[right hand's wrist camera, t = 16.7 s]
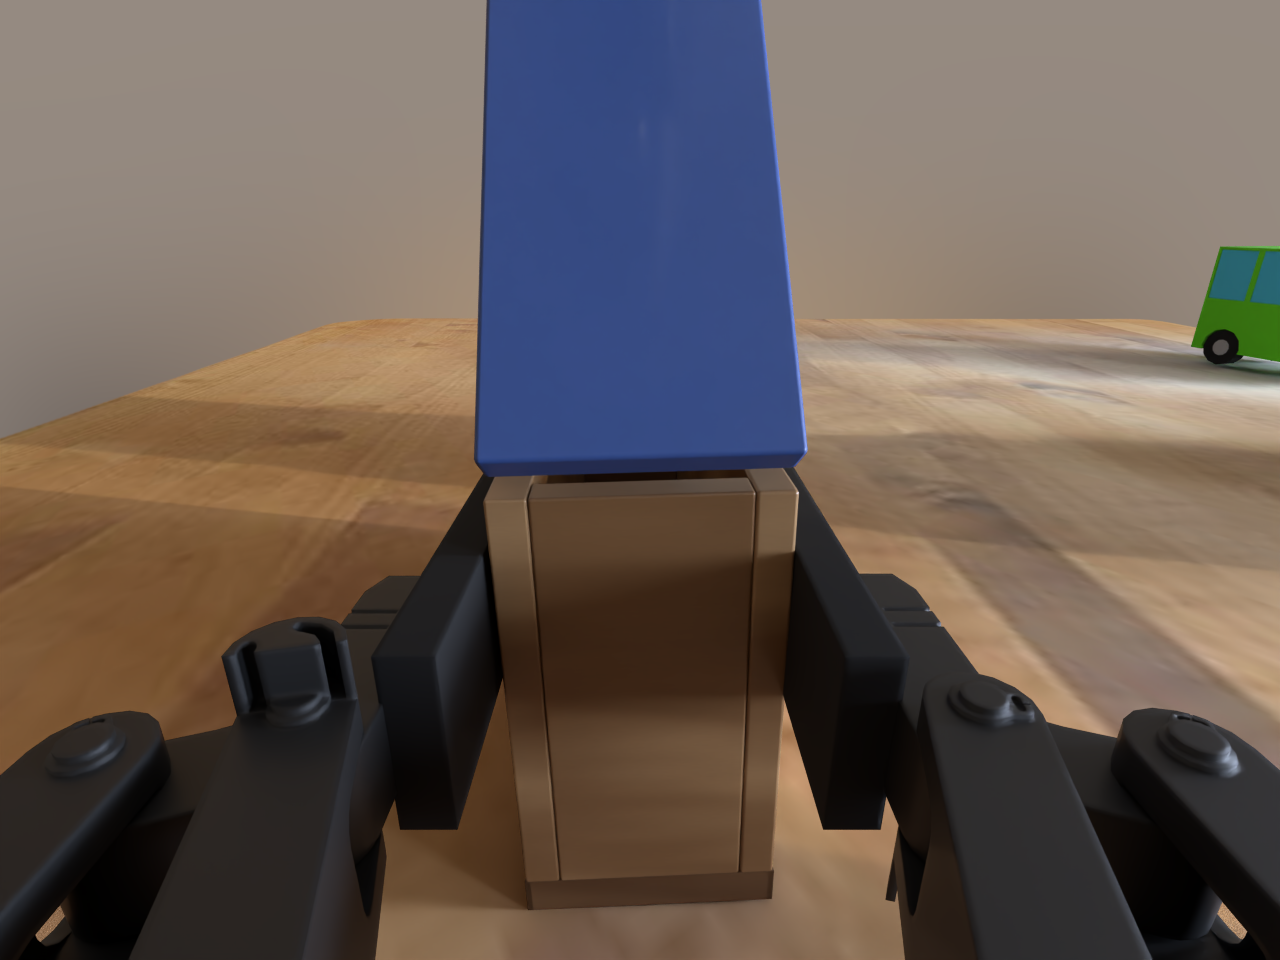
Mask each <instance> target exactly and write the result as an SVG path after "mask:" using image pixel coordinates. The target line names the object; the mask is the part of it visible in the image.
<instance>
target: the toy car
mask: <svg viewBox="0 0 1280 960" xmlns="http://www.w3.org/2000/svg"><path fill="white" fill-rule="evenodd" d="M1191 347H1196V348H1204V351H1203V353H1204V355H1205V357H1206V358H1207V360H1208V361H1210V362H1212V363H1214V364H1227V363H1234V362H1236V361H1238V360H1239V359H1241V358H1242V357H1243V356H1249V357H1254V358H1260V359H1266V360H1271V361H1278V362H1280V246H1236V247H1220V249H1219V253H1218V256H1217V260H1216V263H1215V266H1214V270H1213V274H1212V277H1211V280H1210V284H1209V287H1208V290H1207V294H1206V297H1205V301H1204V304H1203V307H1202V311H1201V314H1200V318H1199V321H1198V324H1197V328H1196V331H1195V335H1194V338H1193V342H1192V345H1191Z"/></svg>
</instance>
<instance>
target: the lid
mask: <svg viewBox="0 0 1280 960" xmlns="http://www.w3.org/2000/svg"><path fill="white" fill-rule="evenodd" d="M807 450H808V448H807V439H806V429H805V420H804V410H803V400H802V391H801V381H800V371H799V362H798V352H797V342H796V333H795V323H794V314H793V304H792V294H791V285H790V275H789V266H788V256H787V247H786V237H785V227H784V217H783V208H782V198H781V188H780V179H779V170H778V159H777V150H776V140H775V131H774V121H773V112H772V102H771V92H770V82H769V73H768V63H767V54H766V44H765V35H764V25H763V15H762V6H761V0H487V9H486V45H485V83H484V118H483V155H482V190H481V226H480V262H479V299H478V335H477V371H476V407H475V443H474V460H475V463H476V464H477V466H478V467H479V468H480V469H481V471H482V472H483V473H484V475H485V476H488V477H504V476H537V475H570V474H603V473H635V472H668V471H701V470H734V469H767V468H792V467H794V466H796V465H797V464H798V462H799V461H800V460H801V459H802V458H803V457H804V455H805V454H806V453H807Z"/></svg>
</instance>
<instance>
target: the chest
mask: <svg viewBox="0 0 1280 960" xmlns="http://www.w3.org/2000/svg"><path fill="white" fill-rule="evenodd" d="M798 499H799V492H798V490H797V488H796V487H795V485H794V484H793V482H792V481H791V479H790V478H789V476H788V475H787V473H786V472H785V470H784V469H783V468H767V469H734V470H701V471H668V472H635V473H603V474H570V475H537V476H504V477H495V478H494V480H493V482H492V484H491V486H490V488H489V491H488V493H487V495H486V497H485V499H484V502H483V505H484V514H485V522H486V531H487V540H488V549H489V558H490V567H491V576H492V585H493V593H494V602H495V611H496V620H497V629H498V638H499V647H500V656H501V665H502V673H503V682H504V691H505V700H506V709H507V718H508V727H509V736H510V744H511V753H512V762H513V771H514V780H515V789H516V798H517V807H518V815H519V824H520V833H521V842H522V851H523V860H524V869H525V887H526V896H527V905H528V910H537V909H558V908H580V907H602V906H623V905H645V904H667V903H688V902H710V901H732V900H753V899H772V889H773V875H774V870H773V854H774V840H775V826H776V811H777V797H778V783H779V769H780V755H781V740H782V726H783V712H784V696H783V688H784V677H785V666H786V655H787V644H788V633H789V622H790V609H791V596H792V583H793V570H794V556H795V542H796V527H797V513H798Z"/></svg>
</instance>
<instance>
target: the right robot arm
mask: <svg viewBox="0 0 1280 960" xmlns="http://www.w3.org/2000/svg"><path fill="white" fill-rule="evenodd" d="M783 469H784V470H785V472H786V473H787V475H788V476H789V478H790V479H791V481H792V482H793V484H794V485H795V487H796V488H797V490H798V492H799V499H798V513H797V527H796V542H795V556H794V570H793V583H792V596H791V609H790V622H789V633H788V644H787V655H786V666H785V677H784V688H783V696H784V700H785V703H786V707H787V710H788V713H789V717H790V720H791V723H792V727H793V730H794V733H795V737H796V740H797V743H798V747H799V750H800V753H801V757H802V760H803V763H804V767H805V770H806V773H807V777H808V780H809V783H810V787H811V790H812V793H813V797H814V800H815V804H816V807H817V810H818V814H819V817H820V820H821V824H822V827H823V830H881V824H882V818H883V812H884V806H885V800H886V797H887V799H888V801H889V804H890V806H891V808H892V811H893V813H894V815H895V818H896V820H897V823H898V825H899V826H898V831H897V837H896V842H895V848H894V853H893V859H892V864H891V870H890V875H889V881H888V887H887V894H886V900H889V901H894V902H895V898H896V893H897V891H898V900H899V909H900V918H901V927H902V936H903V945H904V954H905V960H1280V770H1279V769H1278V768H1277V767H1276V766H1274V765H1273V764H1272V763H1271V762H1270V761H1269V760H1267V759H1266V758H1265V757H1264V756H1263V755H1262V754H1261V753H1259V752H1258V751H1257V750H1256V749H1255V748H1253V747H1252V746H1250V745H1249V744H1248V743H1246V742H1245V741H1243V740H1242V739H1240V738H1239V737H1238V736H1236V735H1235V734H1233V733H1232V732H1230V731H1228V730H1226V729H1223V728H1221V727H1219V726H1217V725H1215V724H1213V723H1211V722H1210V721H1208V720H1206V719H1203V718H1200V717H1197V716H1194V715H1193V716H1192V715H1190V714H1188V713H1183V712H1179V711H1174V710H1165V709H1157V708H1148V709H1142V710H1135V711H1133V712H1131V713H1130V714H1129V715H1128V716H1126V717H1125V718H1124V719H1123V722H1122V725H1121V728H1120V731H1119V734H1118V737H1117V738H1114V737H1110V736H1105V735H1100V734H1095V733H1091V732H1086V731H1081V730H1076V729H1072V728H1067V727H1063V726H1059V725H1055V724H1052V723H1048V722H1046V720H1045V718H1044V716H1043V714H1042V713H1041V711H1040V710H1039V709H1038V707H1037V706H1036V705H1035V703H1034V702H1033V701H1032V700H1031V699H1030V698H1028V697H1027V696H1026V695H1024V694H1023V693H1022V692H1020V691H1019V690H1018V689H1016V688H1015V687H1013V686H1011V685H1008V684H1006V683H1004V682H1002V681H1000V680H997V679H995V678H993V677H989V676H985V675H980V674H978V672H977V671H976V670H975V668H974V667H973V665H972V664H971V663H970V661H969V660H968V659H967V657H966V656H965V655H964V653H963V652H962V651H961V649H960V648H959V647H958V645H957V644H956V643H955V641H954V640H953V639H952V637H951V636H950V635H949V633H948V632H947V631H946V629H945V628H944V627H941V622H940V621H939V620H938V618H937V617H936V616H935V614H934V613H933V612H932V611H930V610H929V606H928V605H927V604H926V602H925V601H924V600H923V598H922V597H921V596H920V594H919V593H918V591H917V590H916V589H915V588H913V587H911V586H910V585H908V584H907V583H905V582H904V581H902V580H901V579H899V578H898V577H896V576H895V575H893V574H859V573H858V571H857V570H856V568H855V567H854V565H853V563H852V562H851V560H850V558H849V557H848V555H847V554H846V552H845V550H844V549H843V547H842V545H841V544H840V542H839V541H838V539H837V537H836V536H835V534H834V532H833V531H832V529H831V528H830V526H829V524H828V523H827V521H826V519H825V518H824V516H823V515H822V513H821V511H820V510H819V508H818V506H817V505H816V503H815V502H814V500H813V498H812V497H811V495H810V493H809V492H808V490H807V489H806V487H805V485H804V484H803V482H802V480H801V479H800V477H799V476H798V474H797V472H796V471H795V469H794V467H792V468H783ZM494 478H495V477H488V476H485V475H484V473H483V475H482V477H481V478H480V480H479V482H478V483H477V485H476V486H475V488H474V490H473V491H472V493H471V495H470V496H469V498H468V499H467V501H466V503H465V504H464V506H463V508H462V509H461V511H460V512H459V514H458V516H457V517H456V519H455V521H454V522H453V524H452V525H451V527H450V529H449V530H448V532H447V534H446V535H445V537H444V538H443V540H442V542H441V543H440V545H439V547H438V548H437V550H436V551H435V553H434V555H433V556H432V558H431V560H430V561H429V563H428V565H427V566H426V568H425V569H424V571H423V573H422V574H421V576H388V577H387V578H385V579H384V580H382V581H380V582H379V583H377V584H376V585H374V586H373V587H371V588H370V589H368V590H367V591H365V592H364V594H363V595H362V597H361V598H360V599H359V601H358V602H357V603H356V605H355V606H354V607H353V609H352V613H351V614H348V616H347V617H346V618H345V620H344V621H343V622H342V624H341V625H340V624H339V623H338V622H336V621H335V620H330V619H326V618H322V617H297V618H293V619H288V620H283V621H278V622H274V623H271V624H269V625H266V626H264V627H261V628H259V629H256V630H254V631H251V632H250V633H248V634H247V635H245V636H243V637H242V638H240V639H239V640H237V641H236V642H234V643H233V644H232V645H231V646H230V647H229V648H228V650H227V651H226V652H225V653H224V654H223V655H222V656H221V657H222V661H223V664H224V668H225V672H226V676H227V679H228V683H229V687H230V691H231V695H232V698H233V702H234V706H235V710H236V713H237V717H236V719H235V722H234V724H233V725H232V726H229V727H225V728H221V729H218V730H213V731H209V732H204V733H199V734H194V735H190V736H185V737H180V738H175V739H171V740H166V741H164V737H163V734H162V731H161V728H160V725H159V722H158V721H157V720H156V719H154V718H153V717H152V716H151V715H149V714H148V713H141V712H134V711H124V712H116V713H108V714H103V715H99V716H94V717H93V718H90V719H89V718H87V719H85V720H82V721H79V722H76V723H74V724H72V725H71V726H69V727H67V728H65V729H63V730H61V731H59V732H56V733H54V734H52V735H50V736H49V737H47V738H46V739H45V740H43V741H42V742H40V743H39V744H38V745H36V746H35V747H33V748H32V749H31V750H29V751H28V752H26V753H25V754H24V755H23V756H22V757H21V758H20V759H18V760H17V761H16V762H15V763H14V764H13V765H12V766H10V767H9V768H8V769H7V770H6V771H5V772H4V773H2V774H1V775H0V960H375V955H376V947H377V938H378V929H379V920H380V911H381V902H382V893H383V884H384V875H385V866H386V850H385V842H384V837H383V832H382V828H383V825H384V823H385V821H386V818H387V816H388V814H389V811H390V809H391V806H392V804H393V802H394V799H395V802H396V808H397V814H398V820H399V826H400V830H457V829H458V826H459V823H460V819H461V816H462V812H463V809H464V806H465V802H466V799H467V796H468V792H469V789H470V786H471V782H472V779H473V776H474V772H475V769H476V766H477V762H478V759H479V756H480V752H481V749H482V746H483V742H484V739H485V735H486V732H487V729H488V725H489V722H490V719H491V715H492V712H493V709H494V705H495V702H496V699H497V695H498V692H499V689H500V685H501V682H502V679H503V673H502V665H501V656H500V647H499V638H498V629H497V620H496V611H495V602H494V593H493V585H492V576H491V567H490V558H489V549H488V540H487V531H486V522H485V514H484V505H483V502H484V499H485V497H486V495H487V493H488V491H489V488H490V486H491V484H492V482H493V480H494ZM1222 902H1223V903H1224V904H1225V906H1226V907H1227V908H1228V909H1229V910H1230V911H1231V913H1232V914H1233V915H1234V916H1235V917H1236V919H1237V920H1238V921H1239V922H1240V923H1241V924H1242V926H1243V927H1244V928H1245V929H1246V930H1247V934H1246V936H1245V938H1244V939H1243V940H1242V939H1240V938H1238V937H1237V936H1236V935H1235V934H1234V933H1233V932H1232V931H1231V930H1230V929H1229V928H1228V927H1227V925H1226V924H1225V923H1224V922H1223V921H1222V919H1221V918H1220V917H1219V916H1218V914H1217V913H1218V911H1219V908H1220V906H1221V904H1222ZM59 906H61V908H62V910H63V913H64V915H65V917H64V918H63V919H62V921H61V922H60V923H59V924H58V926H57V927H56V928H55V929H54V930H53V931H52V932H51V933H50V934H49V935H48V936H47V937H46V938H45V939H43V940H42V941H41V942H40V941H38V940H37V938H36V936H35V934H36V933H37V932H38V931H39V930H40V928H41V927H42V926H43V925H44V924H45V922H46V921H47V920H48V919H49V918H50V916H51V915H52V914H53V913H54V912H55V911H56V909H57V908H58V907H59Z"/></svg>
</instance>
